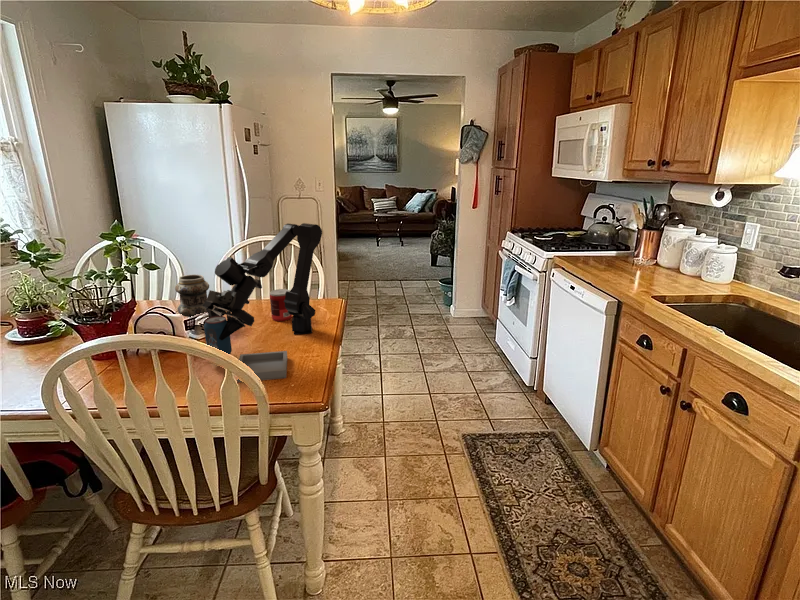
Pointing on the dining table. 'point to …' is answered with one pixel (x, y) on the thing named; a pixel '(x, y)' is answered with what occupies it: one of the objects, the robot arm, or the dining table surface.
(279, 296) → the canned food
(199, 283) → the apothecary jar
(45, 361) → the dining table surface
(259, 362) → the tray
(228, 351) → the soda can
